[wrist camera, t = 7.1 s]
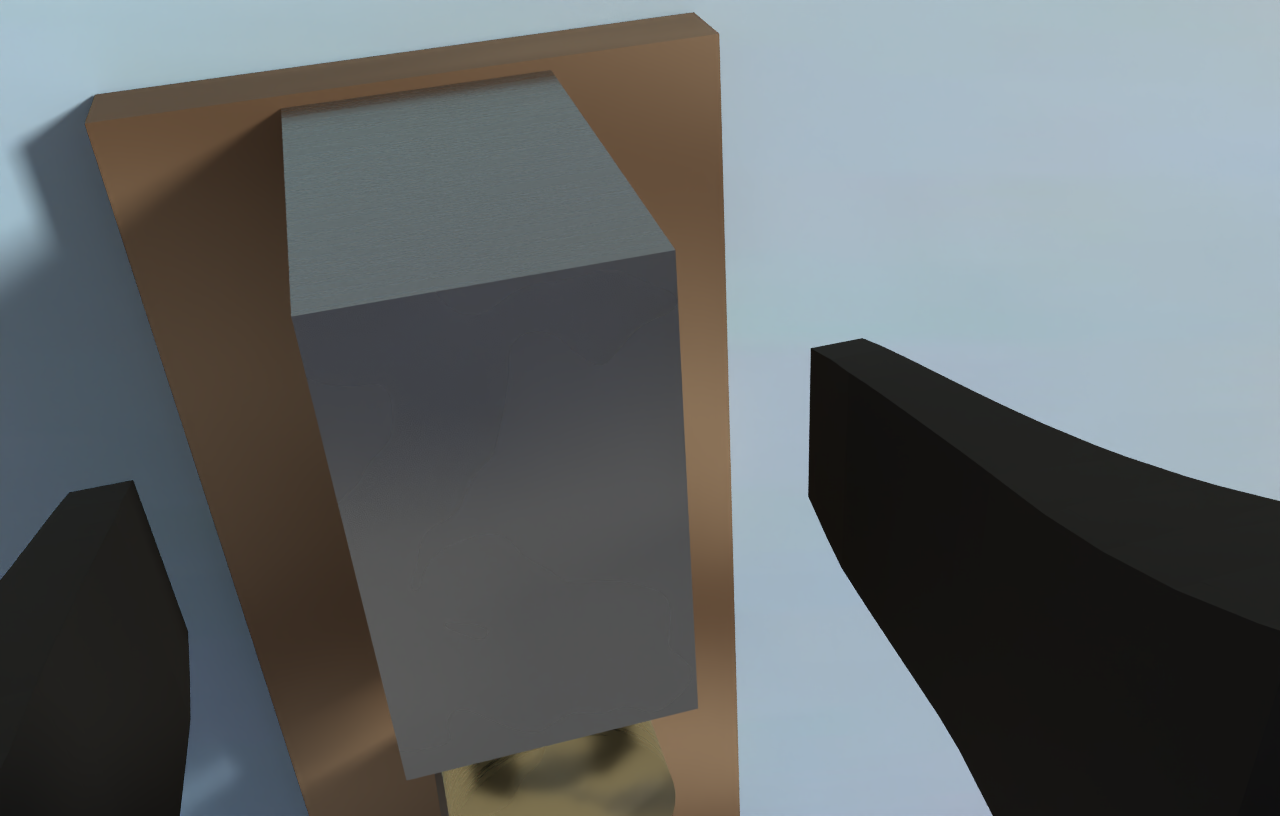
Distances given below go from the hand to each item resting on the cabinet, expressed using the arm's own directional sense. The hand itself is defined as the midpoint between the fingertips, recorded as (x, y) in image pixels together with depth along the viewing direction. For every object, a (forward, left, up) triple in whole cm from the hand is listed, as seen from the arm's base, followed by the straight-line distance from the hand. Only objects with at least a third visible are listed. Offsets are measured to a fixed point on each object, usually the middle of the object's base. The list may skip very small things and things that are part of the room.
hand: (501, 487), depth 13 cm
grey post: (0, 0, -3) cm, 3 cm away
